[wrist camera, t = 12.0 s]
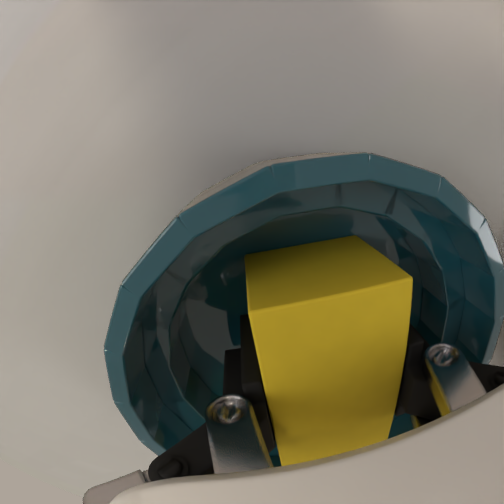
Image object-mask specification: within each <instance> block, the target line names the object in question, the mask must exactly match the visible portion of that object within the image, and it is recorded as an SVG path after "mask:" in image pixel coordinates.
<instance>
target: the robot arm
mask: <svg viewBox="0 0 504 504" xmlns="http://www.w3.org/2000/svg"><path fill="white" fill-rule="evenodd" d="M240 344H241V348H237V349H230V350H225V356H224V376H223V395H222V396H219V397H217V398H215V399H213V400H212V401H211V402H210V403H209V404H208V405H207V407H206V409H205V420H206V422H205V423H204V424H203V425H201V426H200V427H199V428H197V429H196V430H195V431H193V432H192V433H191V434H189V435H188V436H186V437H185V438H184V439H182V440H181V441H180V442H178V443H177V444H175V445H174V446H172V447H171V448H170V449H168V450H167V451H165V452H164V453H162V454H161V455H159V456H158V457H157V458H156V459H154V460H153V461H152V463H151V464H150V466H149V469H148V470H146V471H143V472H142V471H141V470H137V471H135V472H132V473H130V474H127V475H125V476H122V477H120V478H117V479H114V480H111V481H109V482H106V483H103V484H100V485H97V486H94V487H92V488H90V489H88V491H87V492H86V493H85V494H84V497H83V504H504V367H500V366H494V365H487V364H481V363H475V362H469V361H467V359H466V358H465V356H464V355H463V353H462V351H461V350H460V349H459V348H458V347H457V346H455V345H453V344H450V343H443V342H442V343H436V344H433V345H431V346H430V345H429V344H428V342H427V341H426V340H425V339H424V338H423V337H422V336H421V335H420V333H419V332H418V331H417V330H416V329H415V328H414V327H413V326H412V325H411V324H410V323H409V332H408V340H407V348H406V354H405V361H404V367H403V373H402V378H401V384H400V389H399V394H398V398H397V403H396V407H395V412H394V414H395V416H399V415H402V414H404V413H407V414H410V420H411V423H412V427H413V430H410V431H408V432H405V433H403V434H400V435H397V436H395V437H392V438H389V439H386V440H384V441H381V442H378V443H375V444H372V445H368V446H365V447H362V448H359V449H355V450H352V451H348V452H344V453H341V454H337V455H333V456H329V457H325V458H321V459H316V460H312V461H307V462H302V463H297V464H291V465H286V466H280V467H273V464H272V461H271V458H270V456H269V453H270V452H271V451H272V450H273V449H274V448H275V447H276V445H275V435H274V431H273V426H272V422H271V417H270V413H269V408H268V404H267V399H266V395H265V390H264V385H263V381H262V376H261V372H260V367H259V362H258V358H257V353H256V348H255V343H254V339H253V334H252V329H251V324H250V319H249V315H248V314H244V315H240Z"/></svg>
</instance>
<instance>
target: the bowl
mask: <svg viewBox="0 0 504 504" xmlns="http://www.w3.org/2000/svg"><path fill="white" fill-rule="evenodd" d="M353 235H356V236H358V237H359V238H360V239H362V240H363V241H365V242H366V243H367V244H369V245H370V246H372V247H373V248H374V249H376V250H377V251H378V252H380V253H381V254H382V255H384V256H385V257H387V258H388V259H389V260H391V261H392V262H393V263H395V264H396V265H397V266H399V267H400V268H401V269H403V270H404V271H405V272H406V273H408V274H409V275H410V276H412V278H413V288H412V302H411V314H410V324H411V325H412V326H413V327H414V328H415V329H416V330H417V331H418V332H419V333H420V335H421V336H422V337H423V338H424V339H425V340H426V341H427V342H428V344H429V345H430V346H431V345H433V344H436V343H442V342H443V343H450V344H453V345H455V346H457V347H458V348H459V349H460V350H461V351H462V353H463V355H464V356H465V358H466V359H467V361H469V362H475V363H481V364H487V365H488V364H489V363H490V360H491V359H492V356H493V353H494V350H495V347H496V344H497V340H498V337H499V334H500V330H501V326H502V323H503V319H504V264H503V261H502V258H501V255H500V252H499V250H498V247H497V244H496V242H495V239H494V237H493V234H492V232H491V229H490V227H489V224H488V222H487V220H486V219H485V217H484V215H483V214H482V213H481V212H480V211H479V210H478V209H477V208H476V207H475V206H474V205H473V204H472V203H471V202H470V201H469V200H468V199H467V198H466V197H465V196H464V195H463V194H462V193H461V192H459V191H458V190H457V189H456V188H455V187H454V186H453V185H452V184H451V183H450V182H449V181H447V180H446V179H445V178H444V177H442V176H441V175H439V174H437V173H434V172H431V171H428V170H425V169H422V168H419V167H416V166H413V165H410V164H407V163H404V162H400V161H397V160H394V159H390V158H387V157H383V156H380V155H376V154H373V153H366V152H351V153H316V154H308V155H300V156H293V157H286V158H279V159H272V160H266V161H260V162H258V163H254V164H252V165H250V166H249V167H247V168H245V169H243V170H241V171H239V172H237V173H235V174H233V175H231V176H230V177H228V178H226V179H224V180H222V181H220V182H219V183H217V184H215V185H213V186H211V187H210V188H208V189H206V190H204V191H202V192H201V193H200V194H199V195H198V196H196V197H195V198H194V199H193V200H192V201H191V202H190V203H189V204H188V205H187V206H186V207H185V208H184V209H183V210H182V211H181V212H180V213H179V214H178V215H177V216H176V217H175V218H174V219H173V220H172V221H171V222H170V224H169V225H168V226H167V227H166V228H165V229H164V231H163V232H162V233H161V234H160V235H159V236H158V238H157V239H156V240H155V241H154V242H153V244H152V245H151V246H150V247H149V248H148V250H147V251H146V252H145V253H144V255H143V256H142V257H141V258H140V259H139V261H138V262H137V263H136V264H135V266H134V267H133V268H132V269H131V271H130V272H129V273H128V275H127V276H126V277H125V278H124V280H123V281H122V284H121V285H120V287H119V291H118V294H117V298H116V301H115V305H114V308H113V312H112V316H111V319H110V323H109V327H108V331H107V335H106V339H105V343H104V355H105V361H106V367H107V372H108V378H109V383H110V388H111V392H112V397H113V400H114V403H115V405H116V406H117V408H118V409H119V411H120V413H121V414H122V416H123V417H124V419H125V420H126V422H127V423H128V425H129V426H130V428H131V429H132V431H133V432H134V433H135V435H136V436H137V438H138V439H139V440H140V441H141V443H143V444H144V445H145V446H146V447H148V448H149V449H150V450H151V451H153V452H154V453H155V454H156V455H158V456H159V455H161V454H162V453H164V452H165V451H167V450H168V449H170V448H171V447H172V446H174V445H175V444H177V443H178V442H180V441H181V440H182V439H184V438H185V437H186V436H188V435H189V434H191V433H192V432H193V431H195V430H196V429H197V428H199V427H200V426H201V425H203V424H204V423H205V422H206V420H205V409H206V407H207V405H208V404H209V403H210V402H211V401H212V400H213V399H215V398H217V397H219V396H222V395H223V376H224V356H225V350H230V349H237V348H241V344H240V315H244V314H248V302H247V287H246V272H245V255H246V254H252V253H258V252H263V251H269V250H275V249H280V248H286V247H291V246H297V245H303V244H308V243H314V242H320V241H325V240H331V239H336V238H342V237H348V236H353ZM410 430H413V427H412V423H411V420H410V414H407V413H404V414H402V415H399V416H395V414H394V416H393V420H392V424H391V428H390V432H389V435H388V439H389V438H392V437H395V436H397V435H400V434H403V433H405V432H408V431H410ZM275 445H276V447H275V448H274V449H273V450H272V451H271V452H270V453H269V456H270V458H271V461H272V464H273V467H280V466H281V461H280V457H279V453H278V448H277V444H276V439H275Z"/></svg>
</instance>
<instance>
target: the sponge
mask: <svg viewBox="0 0 504 504" xmlns="http://www.w3.org/2000/svg"><path fill="white" fill-rule="evenodd" d="M245 272H246V287H247V302H248V315H249V319H250V324H251V329H252V334H253V339H254V343H255V348H256V353H257V358H258V362H259V367H260V372H261V376H262V381H263V385H264V390H265V395H266V399H267V404H268V408H269V413H270V417H271V422H272V426H273V431H274V435H275V439H276V444H277V448H278V453H279V457H280V461H281V466H286V465H291V464H297V463H302V462H307V461H312V460H316V459H321V458H325V457H329V456H333V455H337V454H341V453H344V452H348V451H352V450H355V449H359V448H362V447H365V446H368V445H372V444H375V443H378V442H381V441H384V440H386V439H388V435H389V432H390V428H391V424H392V420H393V416H394V412H395V407H396V403H397V398H398V394H399V389H400V384H401V378H402V373H403V367H404V361H405V354H406V348H407V340H408V332H409V323H410V314H411V302H412V288H413V278H412V276H410V275H409V274H408V273H406V272H405V271H404V270H403V269H401V268H400V267H399V266H397V265H396V264H395V263H393V262H392V261H391V260H389V259H388V258H387V257H385V256H384V255H382V254H381V253H380V252H378V251H377V250H376V249H374V248H373V247H372V246H370V245H369V244H367V243H366V242H365V241H363V240H362V239H360V238H359V237H358V236H356V235H353V236H348V237H342V238H336V239H331V240H325V241H320V242H314V243H308V244H303V245H297V246H291V247H286V248H280V249H275V250H269V251H263V252H258V253H252V254H246V255H245Z"/></svg>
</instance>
